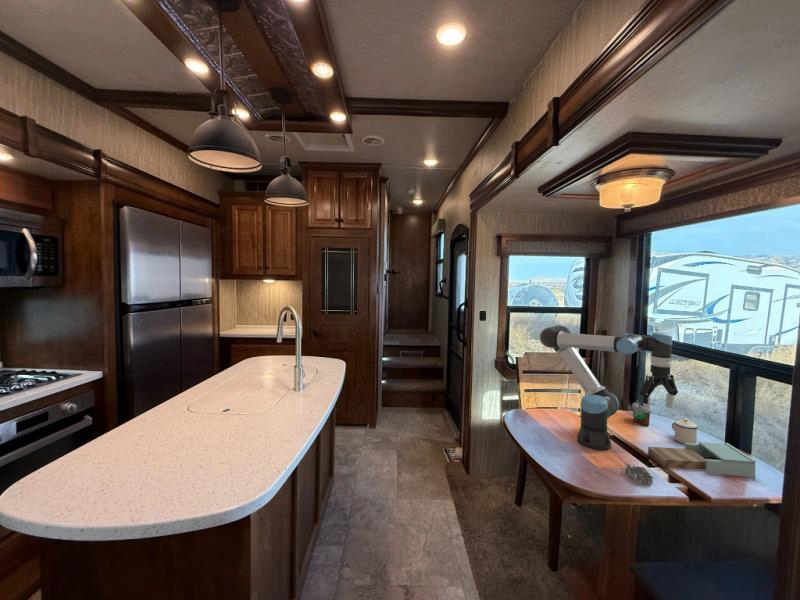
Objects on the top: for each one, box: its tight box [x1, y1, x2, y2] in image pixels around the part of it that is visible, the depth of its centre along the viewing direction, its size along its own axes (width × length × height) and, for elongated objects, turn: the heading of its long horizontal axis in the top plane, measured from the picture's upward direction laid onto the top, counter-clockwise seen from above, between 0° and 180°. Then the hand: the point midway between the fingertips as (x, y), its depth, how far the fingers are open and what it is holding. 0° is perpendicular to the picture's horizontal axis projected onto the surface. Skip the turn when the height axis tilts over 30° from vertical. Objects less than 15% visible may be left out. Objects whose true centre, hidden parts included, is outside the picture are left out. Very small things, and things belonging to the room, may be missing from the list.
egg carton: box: [624, 462, 654, 487], centre depth 142 cm, size 11×8×4 cm
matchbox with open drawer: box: [684, 441, 757, 478], centre depth 151 cm, size 17×16×7 cm
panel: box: [647, 446, 707, 471], centre depth 154 cm, size 18×12×4 cm, turn 81°
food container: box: [631, 402, 652, 427], centre depth 197 cm, size 12×6×10 cm, turn 172°
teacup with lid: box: [671, 417, 699, 445], centre depth 175 cm, size 12×9×12 cm
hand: (657, 408), depth 163 cm, fingers open, 13 cm apart
